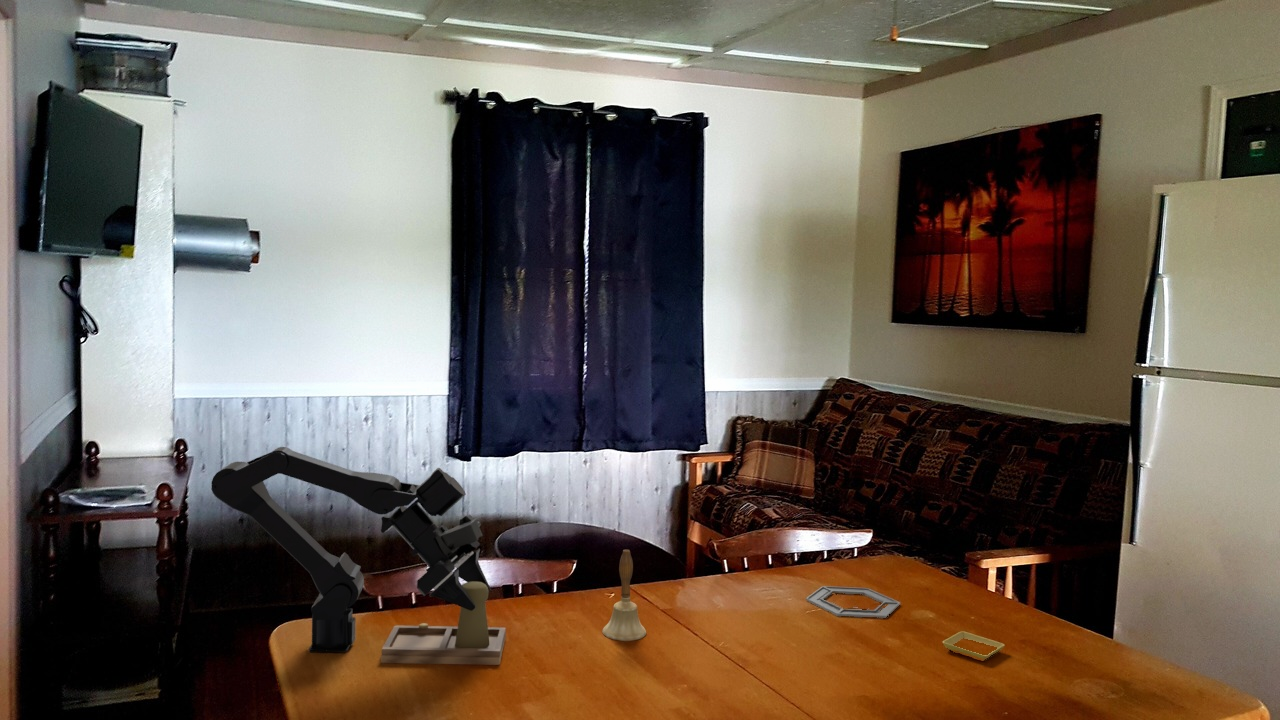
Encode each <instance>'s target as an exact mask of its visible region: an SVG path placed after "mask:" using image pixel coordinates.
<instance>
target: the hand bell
mask: <svg viewBox="0 0 1280 720" xmlns="http://www.w3.org/2000/svg"><path fill="white" fill-rule="evenodd" d="M618 566H619V567H618V571H619V578H620V580H621V581H620V582H621V589H620V597H621V598H620V600H619V601H617V602H616V603H614V605H613V609H612V610H613V611H612V613H611V617H610V620H609V621H608V623H607V624H606V625H605V626H604V627H603V628H602V630H601V631H602V634H603V635H604V636H605V637H606V638H608V639H610V640H613V641H621V642H630V641H637V640H640V639H643V638H644V637H646V635H647V631H646V629H645V627H644V626H643V625H642V623H641V621H640V619H639V613H638V605H637V604H636V603H635V602H633V601H631V593H630V592H631V588H630V586H631V579H632V576H633V571H634V562H633V558H632V555H631V551H630V549H623V550H622V554H621V556H620V560H619V565H618Z"/></svg>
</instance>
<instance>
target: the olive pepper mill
mask: <svg viewBox="0 0 1280 720" xmlns="http://www.w3.org/2000/svg"><path fill="white" fill-rule="evenodd" d="M461 585H462V586H463V588H464V589H465V590H466V592H467V593H468V595H469V596H470V598H471V599H472V601H473V602H474V604H475V605H476V608H475V609H474V610H472V611H470V610H468V609H465V608H463V607H460V612H459V617H458V622H457V624H458V625H457V627H458V629H457V635H456V642H455V646H456V647H457V648H475V649H485V648H486V647H488V646H489V634H488V627H489V625H488V617H487V607H486V606H487V605H486V601H488V599H489V592H490V591H488V587H487V585H486V584H484V583H482V582H476V581H472V582H466V581H465V582H464V583H463V584H461Z"/></svg>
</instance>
